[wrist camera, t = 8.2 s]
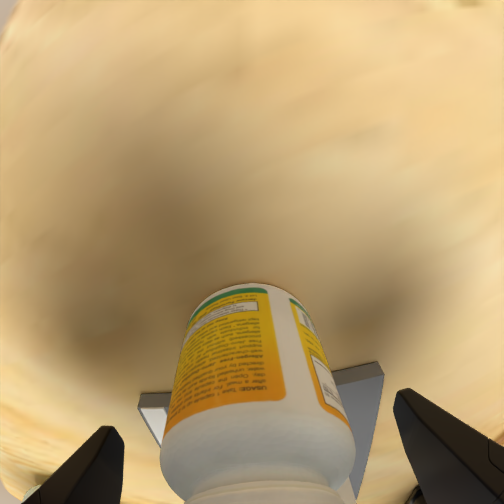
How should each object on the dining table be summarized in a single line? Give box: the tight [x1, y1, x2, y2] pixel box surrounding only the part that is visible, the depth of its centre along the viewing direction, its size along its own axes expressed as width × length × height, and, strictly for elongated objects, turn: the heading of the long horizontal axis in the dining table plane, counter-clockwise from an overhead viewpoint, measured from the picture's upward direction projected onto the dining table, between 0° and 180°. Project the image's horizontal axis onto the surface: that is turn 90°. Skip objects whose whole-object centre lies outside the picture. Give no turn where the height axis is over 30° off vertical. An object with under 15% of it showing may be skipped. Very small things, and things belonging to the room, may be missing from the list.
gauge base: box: [137, 362, 385, 500], centre depth 15 cm, size 15×12×5 cm
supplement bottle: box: [160, 283, 356, 504], centre depth 9 cm, size 5×5×10 cm
